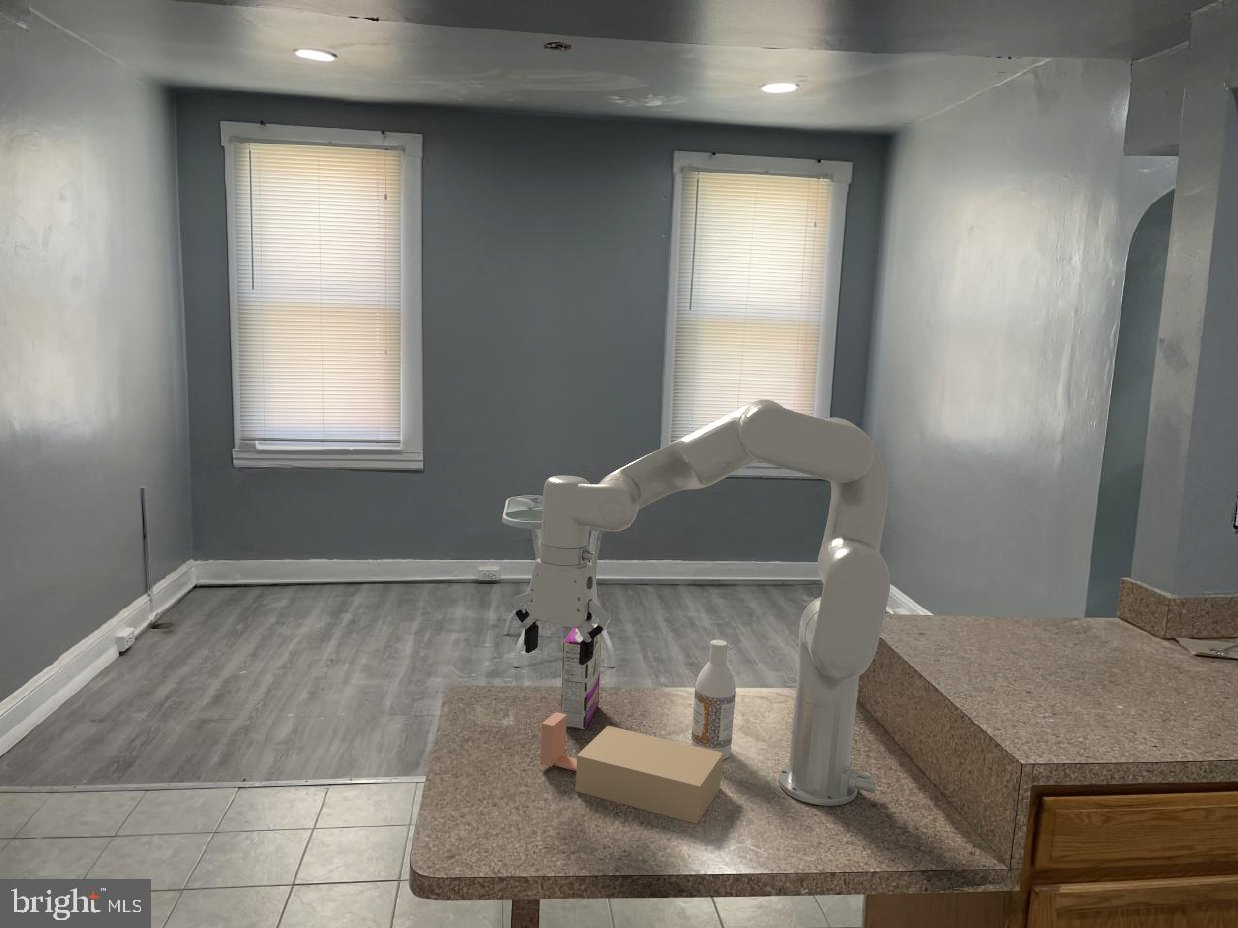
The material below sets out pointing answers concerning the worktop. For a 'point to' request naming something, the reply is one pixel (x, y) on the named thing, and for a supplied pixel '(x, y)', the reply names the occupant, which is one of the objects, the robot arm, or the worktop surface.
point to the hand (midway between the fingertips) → (557, 656)
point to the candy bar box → (579, 681)
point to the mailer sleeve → (649, 773)
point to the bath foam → (714, 703)
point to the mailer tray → (555, 743)
